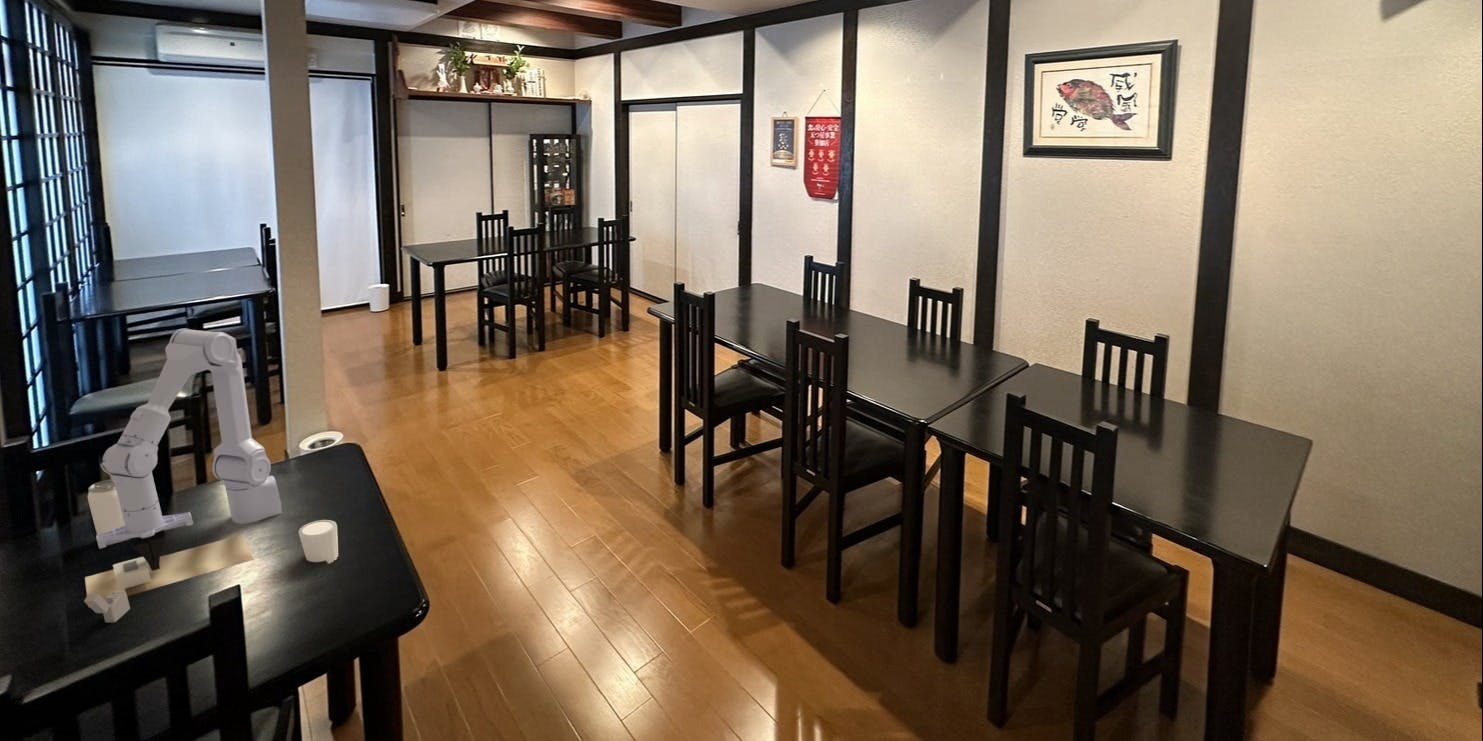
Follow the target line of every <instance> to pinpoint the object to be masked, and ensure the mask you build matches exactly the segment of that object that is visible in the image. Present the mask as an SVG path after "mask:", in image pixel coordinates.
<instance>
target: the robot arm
mask: <svg viewBox="0 0 1483 741" xmlns="http://www.w3.org/2000/svg"><path fill="white" fill-rule="evenodd" d="M237 347H238V346H237V340H236V338H235V337H233V336H231V335H229V334H228V333H225V332H222V331H208V330H207V331H206V330H196V329H190V328H180V329H177V330H175V331H174V332H173V333H172V335H171V337H170V338H169V343H168V344H167V345H166V347H165V355H166V360H165V364H164V365H163V367H162V370H161V372H160V374H159V375H158V376H159V377H158V379H157V381H156V384H155V386H154V388H153V389H152V392H151V395H150V397H149V400H148V401H147V403H145V404H143V405H139V406H138V407H136V409H135V410H134V411H132V413H131V415H130V419H129V421H128V423H127V424H126V427H125V429H124V430H123V432H122V434H121V436H120V438H119V439H118V441H117V443H115V444H113V445H112V446H110V447H108V448H107V449H106V450H105V452H104V454H103V455H102V463H100V468H101V469H102V471H104V472H105V473H106V474H108V475H109V477H110V480H112V481H113V482H114V484H115V488H116V491H117V495H118V499H119V503H120V507H121V511H122V515H123V519H124V523H125V526H122V527H120V528H117V529H114V530H112V531H109V532H106V533H103V534H99V535H97V534H96V537H95V538H96V542H97V545H98V548H99V550H100V549H103V548H106V547H107V546H110V545H114V544H117V543H121V542H125V541H128V540H130V545H131V547H132V548H133V549H134V550H135V551H136V552H138V554H140V555H141V557H144V559H145V560H146V561H147V563H148V564H149V566H150V568H151V571H154V570H158V569H160V566H159V562H160V557H161V553H162V550H163V547H164V544H165V541H166V538H167V537H166V532H165V531H167V530H168V531H169V530H171V529H176V528H179V527H184V526H187V527H189V526H192V525H194V521H193V518H192V515H191V511H188V512H184V513H177V514H169V515H163V514H162V510H161V506H160V502H159V501H160V500H159V497H158V492H157V490H156V488H157V487H156V484H155V481H154V476H153V470H154V469H155V468H156V466H157V464H158V451H159V446H158V445H159V443H160V441H161V440H162V437H163V436H164V434H165V433H166V432H165V431H166V430H167V428H168V426H169V424H170V423H171V419H172V418H171V415H170V413H169V409H170V407H171V406H172V404H173V403H174V401H175V400H176V398H177V397H178V395H179V393H180V392H181V390H182V389H183V387H184V385H185V384H186V383H187V382H188V380H189V378H190V377H191V375H194V374H197V373H200V372H201V373H202V372H204V371H210V372H211V378H212V384H213V385H212V386H213V391H214V398H215V406H216V411H217V412H216V413H217V418H218V424H219V425H218V428H219V432H220V440H221V442H220V444H219V445H217V446H216V447H215V448H214V449H213V454H214V455H213V461H212V462H213V463H212V467H211V469H212V473H213V475H214V477H215V478H216V479H218V480H220V481H221V485H223V486H224V488H225V492H226V497H227V502H228V507H229V511H230V517H231V521H232V522H233V523H234V524H239V525H240V524H244V525H245V524H250V523H251V524H252V523H255V522H259V521H262V520H264V519H267V518H269V517H273V516H274V517H275V516H278V515H281V514H283V510H282V502H281V499H280V493H279V489H278V485H277V481H276V479H275V477H274V476H273V475H270V472H271V462H270V459H269V457H268V456H267V453H266V449H265V447H264V446H263V445H262V444H260V443H258V442H257V441H256V440H255V439H254V438H253V437H252V436H253V435H252V429H251V423H250V422H251V421H250V414H249V408H248V400H247V399H248V398H247V392H246V384H245V383H246V382H245V376H244V371H243V370H244V369H243V361H242V358H241V356H240V354H239V352H238V348H237ZM149 544H150V545H149ZM150 548H151V549H150Z"/></svg>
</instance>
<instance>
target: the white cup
mask: <svg viewBox="0 0 1483 741" xmlns="http://www.w3.org/2000/svg"><path fill="white" fill-rule="evenodd" d="M298 536H299V539H300V542H301V545H302V549H303V552H304V556H305V559H306V561H309V562H311V563H312V562H313V563H320V562H326V563H327V564H328V565H329V564H332V563H334V562H335V561H336V560H337V559H338V558H337V557H339V541H338V525H337V523H336V521H334V520H330V519H321V520H315V521H311V522H308V523H306V524H304V525H303V526H301V527H300V528H299V530H298ZM334 560H335V561H334Z"/></svg>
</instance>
